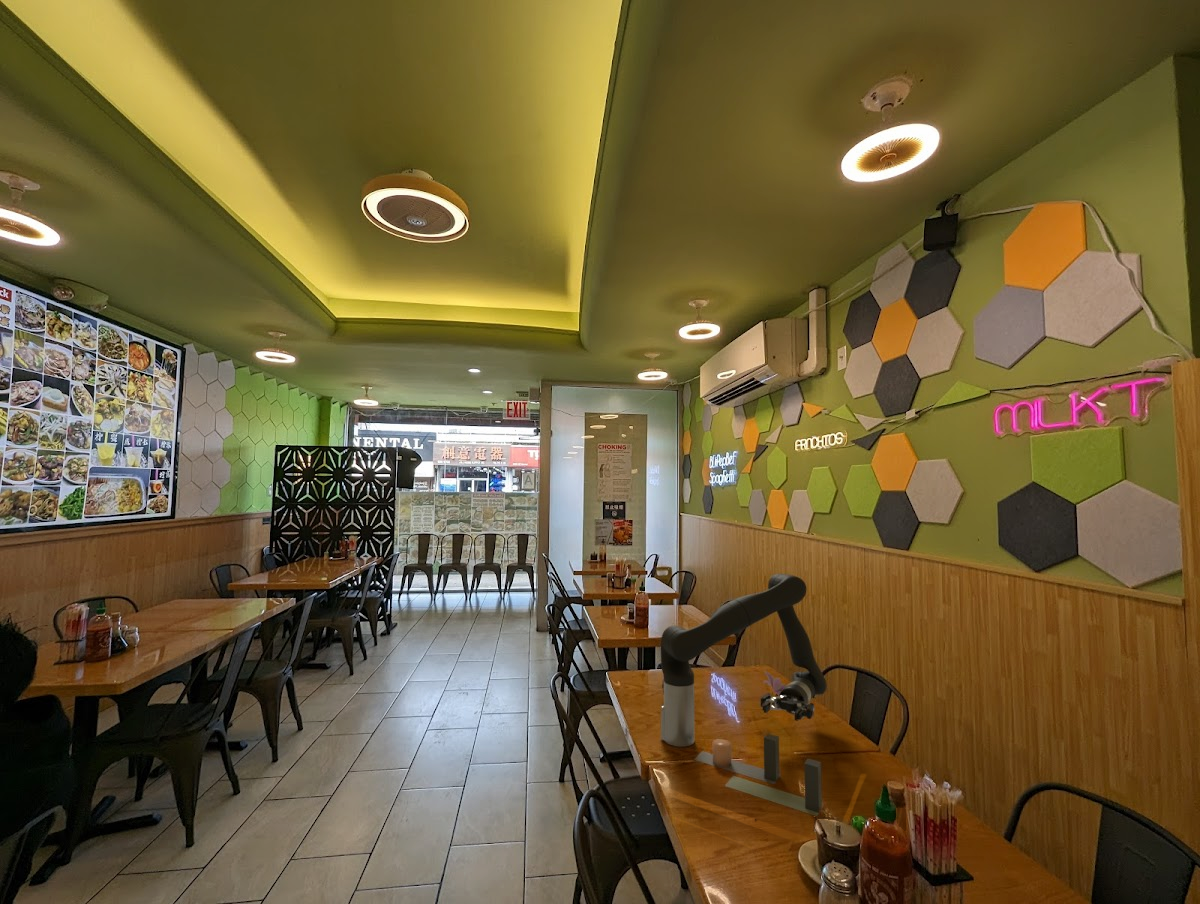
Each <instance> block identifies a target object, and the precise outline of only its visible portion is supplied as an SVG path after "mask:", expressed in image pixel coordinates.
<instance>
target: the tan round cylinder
mask: <svg viewBox="0 0 1200 904" xmlns="http://www.w3.org/2000/svg"><path fill="white" fill-rule="evenodd" d="M711 744H712V754H713V763H714V764H715V765H717V766H720V767H728V766H730V765H731V760H732V742H730V740H726V739H721V738H717V739H714V740H712V743H711Z"/></svg>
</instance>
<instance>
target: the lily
mask: <svg viewBox="0 0 1200 904" xmlns="http://www.w3.org/2000/svg"><path fill="white" fill-rule="evenodd" d="M763 672H764V673H765V675H766V676H767V679H768V680H767V679H766V680H763V681H762V683H765V684H766V685H768V686H770V687H771V688H772V693H771V697H773V694H774V693H775V695H776V694H777V695H776V696H779V694H780V692H781V691H782V690H783V689H784V688H785V687H786V686H787V685H786V684H783V683H782V681H781V679H780V678H779V677H776V678H775V677H774V676H773V675H772V674H771V673H769V672H768V671H766V670H763Z"/></svg>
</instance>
